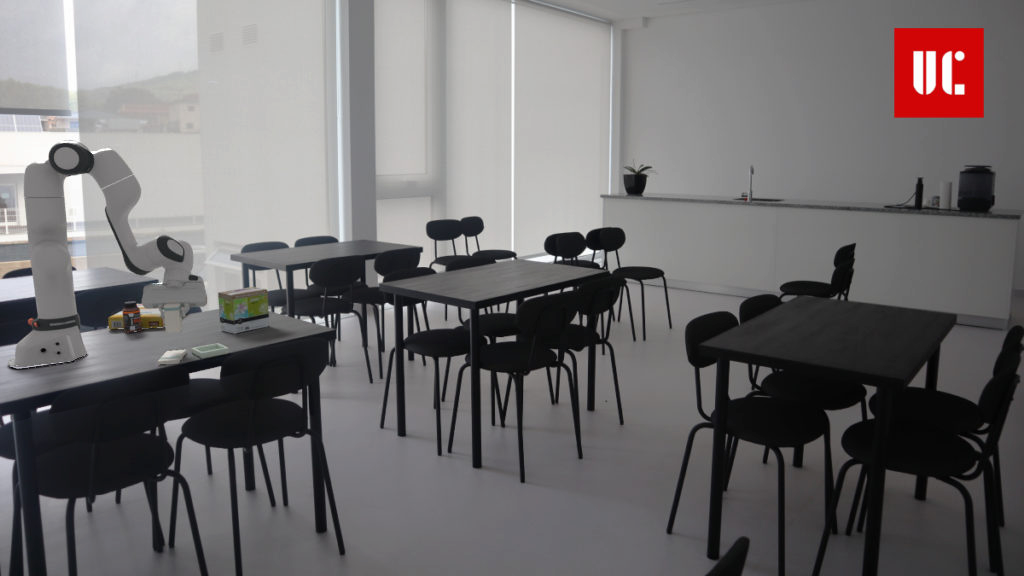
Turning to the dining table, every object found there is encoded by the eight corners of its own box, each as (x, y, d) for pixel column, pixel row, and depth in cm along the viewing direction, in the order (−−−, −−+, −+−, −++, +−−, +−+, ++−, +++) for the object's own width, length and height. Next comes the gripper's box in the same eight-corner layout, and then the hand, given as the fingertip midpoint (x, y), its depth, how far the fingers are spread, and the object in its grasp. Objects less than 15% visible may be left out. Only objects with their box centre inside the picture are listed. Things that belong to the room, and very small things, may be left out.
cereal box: (107, 317, 291) (134, 302, 319) (108, 331, 292) (135, 315, 320) (163, 315, 293) (185, 301, 321) (164, 330, 294) (186, 314, 322)
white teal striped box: (165, 332, 256) (163, 305, 254) (168, 329, 260) (166, 303, 258) (180, 331, 257) (178, 305, 255) (183, 329, 261) (181, 303, 259)
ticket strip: (157, 365, 244) (157, 360, 244) (167, 354, 257) (167, 350, 257) (178, 363, 245) (177, 359, 245) (186, 352, 258) (186, 348, 258)
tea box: (235, 334, 282) (232, 294, 280) (220, 331, 288) (216, 292, 286) (270, 326, 294) (267, 288, 291) (254, 323, 300) (251, 285, 297)
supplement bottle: (137, 333, 287) (133, 303, 285) (121, 333, 287) (118, 303, 285) (145, 329, 293) (141, 300, 291) (129, 329, 293) (126, 300, 291)
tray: (201, 358, 251) (201, 353, 250) (191, 353, 257) (191, 348, 257) (229, 353, 257) (228, 347, 256) (218, 348, 263) (218, 343, 263)
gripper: (142, 278, 260) (136, 312, 252) (206, 276, 264) (203, 310, 256) (146, 289, 265) (141, 323, 257) (209, 287, 269) (206, 320, 261)
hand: (172, 316), depth 257 cm, fingers closed on white teal striped box, 4 cm apart
